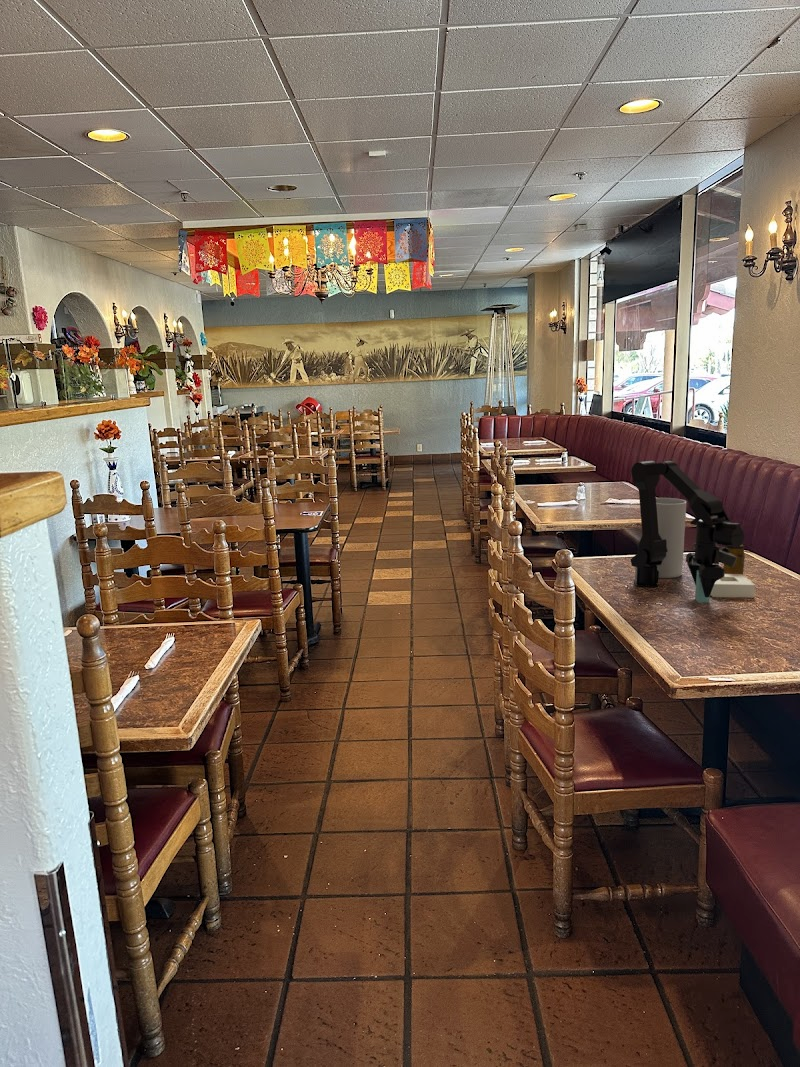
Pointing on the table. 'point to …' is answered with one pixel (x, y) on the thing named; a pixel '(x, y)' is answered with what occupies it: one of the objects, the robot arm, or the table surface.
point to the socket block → (733, 586)
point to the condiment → (739, 562)
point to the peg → (700, 591)
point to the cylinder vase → (671, 534)
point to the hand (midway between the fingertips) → (702, 592)
